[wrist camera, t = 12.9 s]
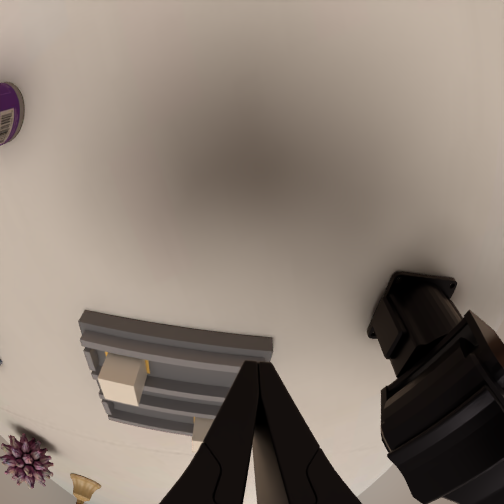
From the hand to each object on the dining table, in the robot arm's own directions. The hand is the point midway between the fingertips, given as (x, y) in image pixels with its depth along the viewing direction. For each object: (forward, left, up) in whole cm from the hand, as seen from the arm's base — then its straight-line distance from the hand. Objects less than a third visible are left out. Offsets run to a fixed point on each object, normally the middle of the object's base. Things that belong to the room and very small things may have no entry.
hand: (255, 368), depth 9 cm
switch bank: (+5, +18, -12) cm, 22 cm away
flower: (+36, +51, -12) cm, 64 cm away
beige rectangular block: (+9, +14, -10) cm, 19 cm away
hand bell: (+31, +73, -12) cm, 80 cm away
